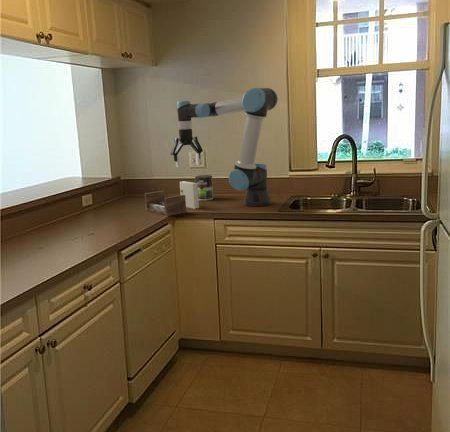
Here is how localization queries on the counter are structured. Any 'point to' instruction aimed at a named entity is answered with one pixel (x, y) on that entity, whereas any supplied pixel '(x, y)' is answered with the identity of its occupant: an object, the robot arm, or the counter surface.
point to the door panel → (190, 194)
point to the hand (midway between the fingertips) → (187, 165)
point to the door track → (164, 203)
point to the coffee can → (204, 187)
